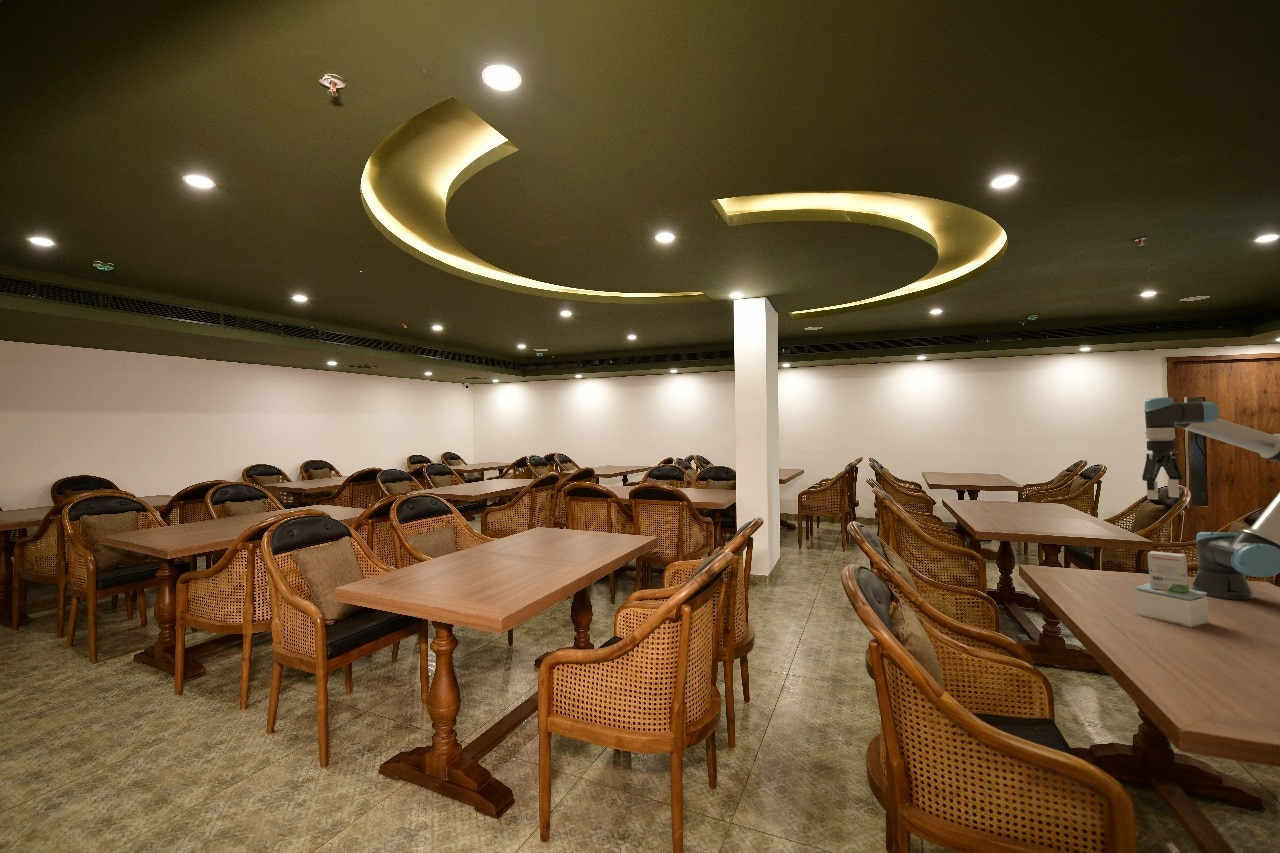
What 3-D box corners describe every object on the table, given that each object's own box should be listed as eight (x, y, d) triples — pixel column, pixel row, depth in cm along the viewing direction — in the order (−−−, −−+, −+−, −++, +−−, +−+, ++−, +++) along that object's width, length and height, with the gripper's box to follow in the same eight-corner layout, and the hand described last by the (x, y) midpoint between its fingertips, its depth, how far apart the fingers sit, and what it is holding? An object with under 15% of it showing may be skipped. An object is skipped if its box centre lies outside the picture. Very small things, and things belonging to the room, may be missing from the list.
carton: (1152, 610, 180) (1151, 586, 180) (1208, 622, 167) (1207, 597, 167) (1135, 614, 176) (1134, 589, 176) (1191, 627, 163) (1190, 601, 163)
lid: (1151, 583, 180) (1151, 581, 180) (1207, 594, 167) (1206, 592, 167) (1134, 588, 176) (1133, 586, 176) (1189, 600, 163) (1189, 598, 163)
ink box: (1189, 590, 170) (1186, 553, 170) (1186, 593, 167) (1183, 556, 167) (1153, 585, 177) (1150, 550, 177) (1150, 588, 174) (1147, 552, 174)
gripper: (1166, 439, 200) (1169, 495, 200) (1127, 440, 191) (1130, 499, 191) (1193, 439, 193) (1196, 497, 193) (1154, 440, 184) (1157, 501, 184)
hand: (1163, 498), depth 192 cm, fingers open, 13 cm apart
